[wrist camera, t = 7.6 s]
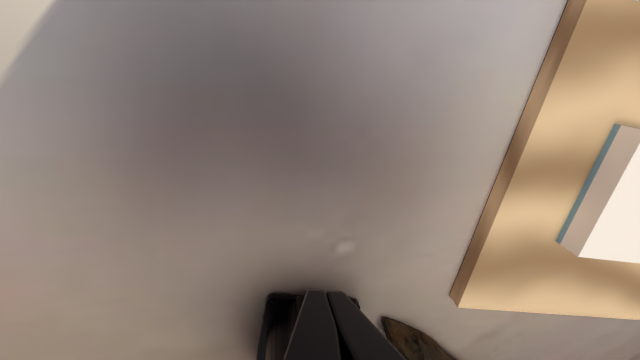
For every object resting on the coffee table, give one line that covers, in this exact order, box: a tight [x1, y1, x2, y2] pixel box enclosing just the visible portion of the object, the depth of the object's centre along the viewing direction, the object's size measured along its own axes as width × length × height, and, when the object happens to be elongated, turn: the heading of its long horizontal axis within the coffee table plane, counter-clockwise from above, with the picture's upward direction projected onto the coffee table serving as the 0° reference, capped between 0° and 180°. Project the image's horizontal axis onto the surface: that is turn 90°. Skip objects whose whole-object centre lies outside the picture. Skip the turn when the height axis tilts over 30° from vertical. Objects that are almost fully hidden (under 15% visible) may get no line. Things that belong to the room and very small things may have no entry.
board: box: [449, 0, 640, 320], centre depth 22 cm, size 20×16×1 cm
